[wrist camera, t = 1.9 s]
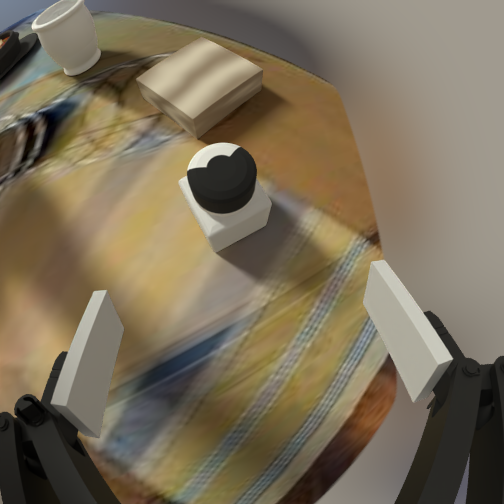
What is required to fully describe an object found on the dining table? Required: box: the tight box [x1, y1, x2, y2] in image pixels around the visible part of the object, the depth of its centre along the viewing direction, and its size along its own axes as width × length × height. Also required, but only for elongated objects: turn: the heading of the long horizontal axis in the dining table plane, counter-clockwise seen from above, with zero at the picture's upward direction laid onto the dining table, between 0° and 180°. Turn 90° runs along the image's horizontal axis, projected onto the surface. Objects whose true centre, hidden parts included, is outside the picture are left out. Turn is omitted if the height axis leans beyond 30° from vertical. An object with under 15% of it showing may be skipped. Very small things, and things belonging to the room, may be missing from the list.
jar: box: [32, 0, 101, 76], centre depth 35 cm, size 11×10×15 cm
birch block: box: [136, 37, 263, 139], centre depth 38 cm, size 13×13×5 cm
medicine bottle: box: [179, 143, 272, 252], centre depth 30 cm, size 7×7×12 cm
